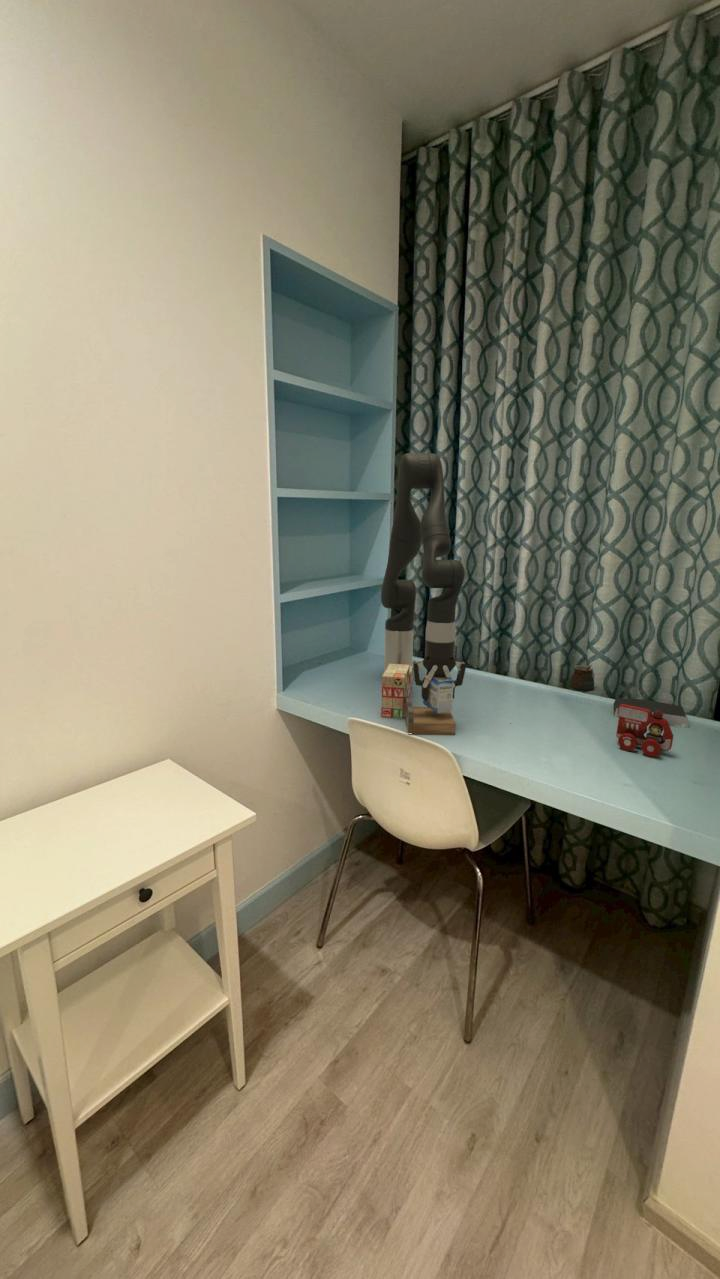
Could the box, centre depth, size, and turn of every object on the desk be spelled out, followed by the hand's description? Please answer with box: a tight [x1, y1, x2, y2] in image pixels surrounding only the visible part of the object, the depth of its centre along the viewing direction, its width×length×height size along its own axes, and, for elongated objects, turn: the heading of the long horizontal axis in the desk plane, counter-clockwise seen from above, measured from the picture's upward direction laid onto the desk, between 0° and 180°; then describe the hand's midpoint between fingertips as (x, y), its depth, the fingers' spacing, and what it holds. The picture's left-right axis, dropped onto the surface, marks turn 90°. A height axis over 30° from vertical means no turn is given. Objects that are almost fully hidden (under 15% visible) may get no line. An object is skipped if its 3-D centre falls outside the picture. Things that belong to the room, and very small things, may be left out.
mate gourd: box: [569, 664, 595, 692], centre depth 170 cm, size 7×8×10 cm
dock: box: [404, 696, 457, 736], centre depth 142 cm, size 12×12×6 cm
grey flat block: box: [613, 697, 690, 729], centre depth 149 cm, size 12×18×4 cm
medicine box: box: [422, 672, 454, 713], centre depth 141 cm, size 8×4×9 cm, turn 22°
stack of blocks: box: [380, 664, 414, 720], centre depth 156 cm, size 21×6×12 cm, turn 168°
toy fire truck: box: [615, 704, 674, 758], centre depth 129 cm, size 7×12×10 cm, turn 52°
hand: (437, 700), depth 141 cm, fingers closed on medicine box, 5 cm apart
